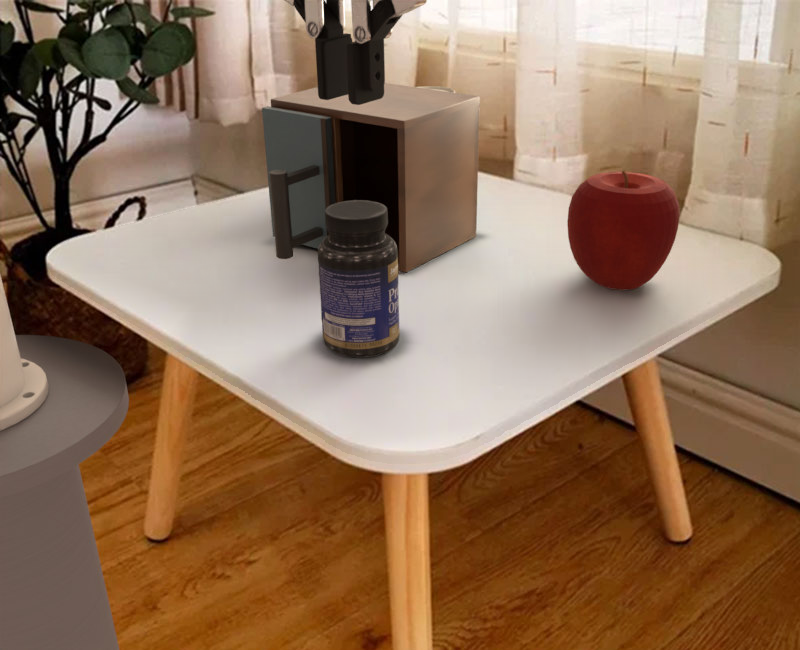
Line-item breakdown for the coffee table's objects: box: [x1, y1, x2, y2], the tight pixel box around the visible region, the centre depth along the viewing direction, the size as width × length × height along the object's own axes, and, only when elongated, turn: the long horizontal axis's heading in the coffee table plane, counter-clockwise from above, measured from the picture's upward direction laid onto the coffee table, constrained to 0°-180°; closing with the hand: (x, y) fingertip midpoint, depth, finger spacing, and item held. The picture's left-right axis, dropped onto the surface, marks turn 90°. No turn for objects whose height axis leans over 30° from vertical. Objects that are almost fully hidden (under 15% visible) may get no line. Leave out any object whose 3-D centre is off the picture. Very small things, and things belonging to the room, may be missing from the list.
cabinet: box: [270, 82, 481, 273], centre depth 93 cm, size 12×16×14 cm
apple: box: [567, 170, 681, 291], centre depth 83 cm, size 10×10×10 cm
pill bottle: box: [317, 200, 400, 358], centre depth 73 cm, size 6×6×11 cm
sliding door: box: [261, 106, 335, 260], centre depth 88 cm, size 7×8×13 cm
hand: (351, 96), depth 66 cm, fingers closed
